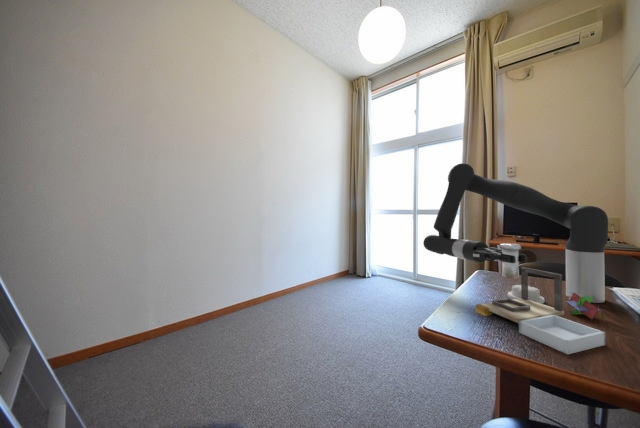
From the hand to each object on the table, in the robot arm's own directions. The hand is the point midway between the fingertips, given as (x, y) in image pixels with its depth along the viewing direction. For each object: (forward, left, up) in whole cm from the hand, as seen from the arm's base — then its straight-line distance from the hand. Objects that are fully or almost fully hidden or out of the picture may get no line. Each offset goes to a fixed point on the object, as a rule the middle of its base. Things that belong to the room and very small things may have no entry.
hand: (520, 259), depth 69 cm
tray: (+2, +11, -18) cm, 21 cm away
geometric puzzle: (-19, +4, -18) cm, 26 cm away
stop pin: (0, -3, -6) cm, 7 cm away
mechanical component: (-18, -11, -18) cm, 28 cm away
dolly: (-2, -1, -18) cm, 18 cm away
